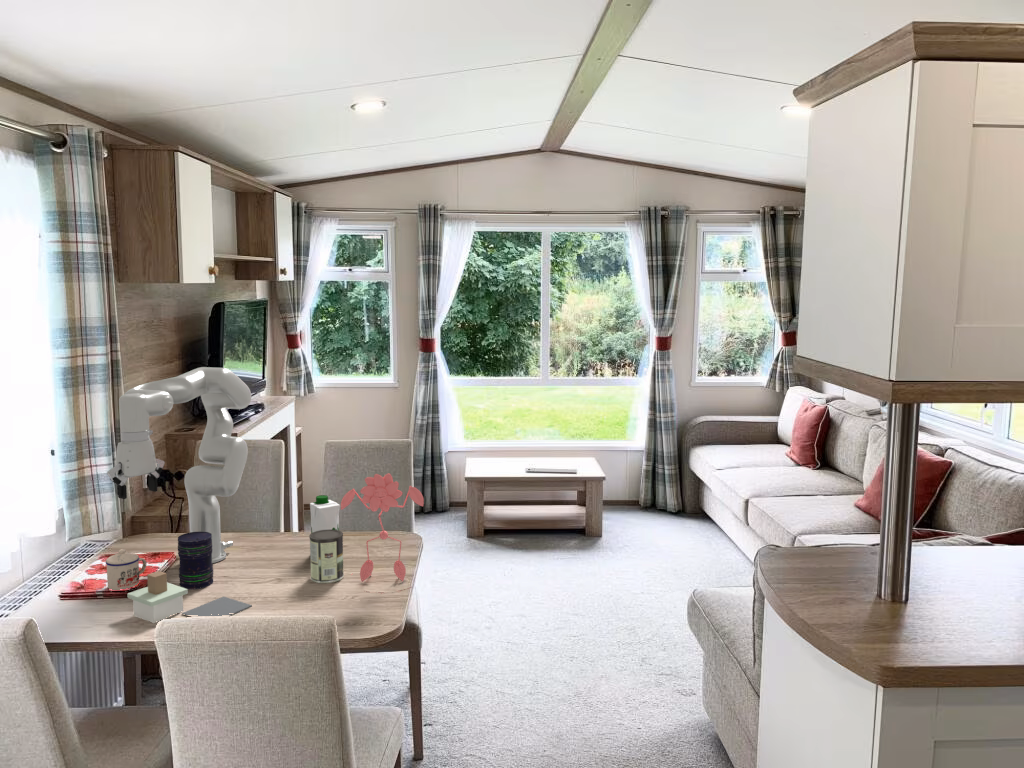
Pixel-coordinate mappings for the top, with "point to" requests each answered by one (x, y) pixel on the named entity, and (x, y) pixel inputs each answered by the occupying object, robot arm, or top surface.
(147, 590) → the lid
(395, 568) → the figurine
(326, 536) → the coffee can
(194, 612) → the mat
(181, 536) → the storage jar
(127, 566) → the teacup with lid
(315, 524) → the milk carton
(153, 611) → the white open box
